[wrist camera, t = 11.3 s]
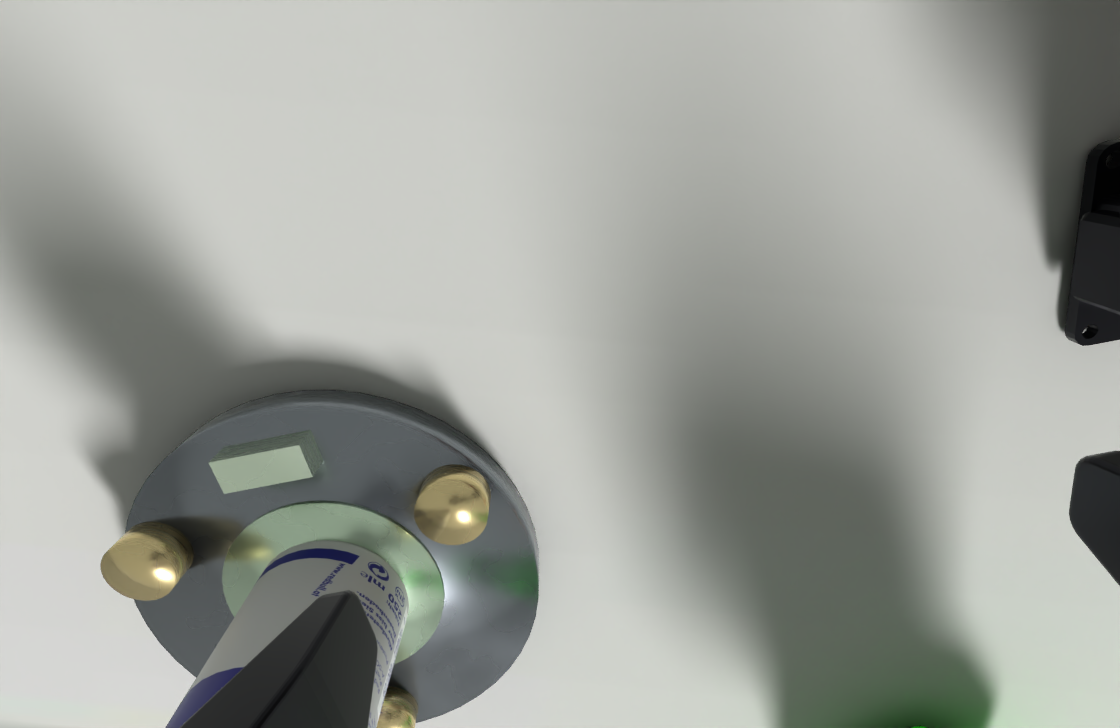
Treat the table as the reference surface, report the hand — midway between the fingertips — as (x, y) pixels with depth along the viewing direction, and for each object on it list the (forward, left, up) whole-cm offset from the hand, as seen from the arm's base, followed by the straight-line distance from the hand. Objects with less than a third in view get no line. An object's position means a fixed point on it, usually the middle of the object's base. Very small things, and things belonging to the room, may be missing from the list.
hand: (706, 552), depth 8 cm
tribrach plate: (+12, +9, -13) cm, 20 cm away
